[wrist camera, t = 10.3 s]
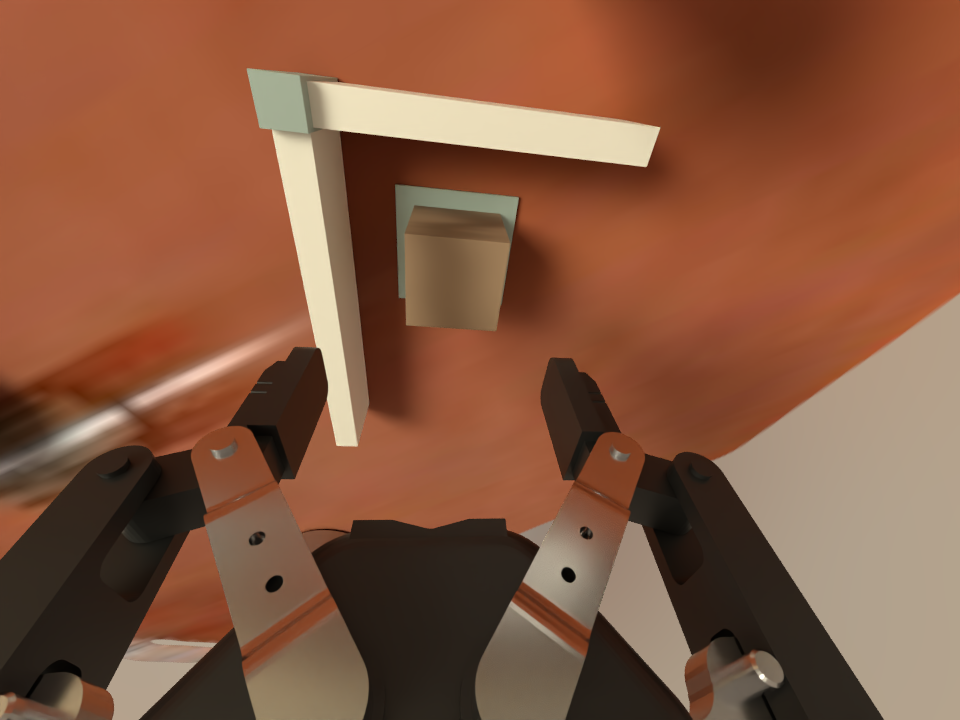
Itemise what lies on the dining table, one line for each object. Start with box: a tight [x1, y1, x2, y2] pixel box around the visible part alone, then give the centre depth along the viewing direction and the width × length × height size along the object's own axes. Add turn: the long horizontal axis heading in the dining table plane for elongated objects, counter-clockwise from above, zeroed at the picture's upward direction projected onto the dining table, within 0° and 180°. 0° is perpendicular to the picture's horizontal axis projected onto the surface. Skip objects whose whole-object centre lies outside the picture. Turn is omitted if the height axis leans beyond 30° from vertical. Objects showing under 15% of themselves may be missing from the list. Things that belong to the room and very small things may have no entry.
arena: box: [247, 68, 660, 446], centre depth 22 cm, size 22×16×5 cm
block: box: [404, 205, 510, 331], centre depth 20 cm, size 5×5×5 cm
